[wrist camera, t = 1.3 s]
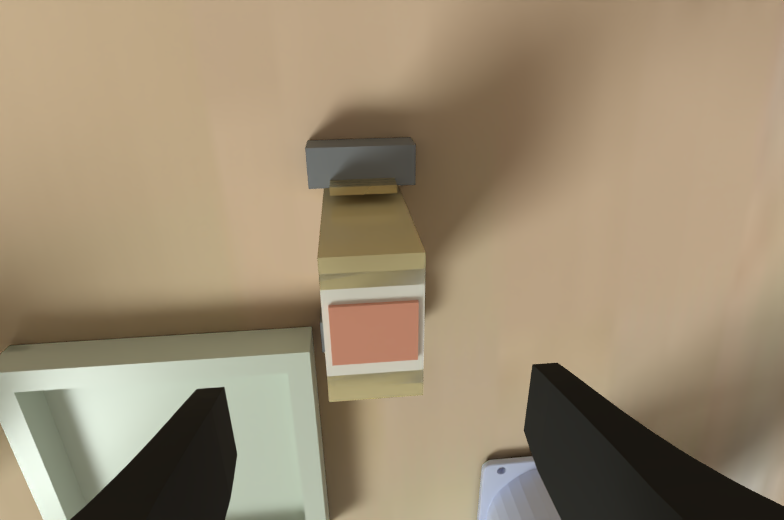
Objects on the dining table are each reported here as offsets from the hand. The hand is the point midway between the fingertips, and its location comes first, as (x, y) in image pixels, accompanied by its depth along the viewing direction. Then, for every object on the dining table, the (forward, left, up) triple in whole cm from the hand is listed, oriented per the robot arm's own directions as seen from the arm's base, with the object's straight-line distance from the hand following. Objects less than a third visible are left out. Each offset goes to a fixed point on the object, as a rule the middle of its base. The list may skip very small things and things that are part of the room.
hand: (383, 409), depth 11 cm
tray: (+9, +11, -10) cm, 17 cm away
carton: (0, 0, -10) cm, 10 cm away
